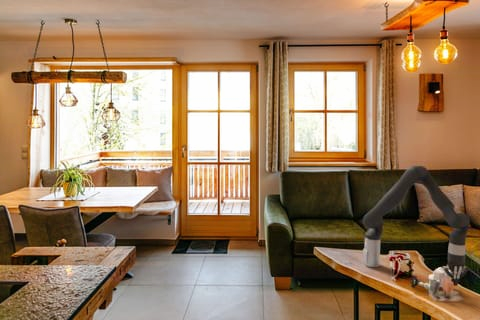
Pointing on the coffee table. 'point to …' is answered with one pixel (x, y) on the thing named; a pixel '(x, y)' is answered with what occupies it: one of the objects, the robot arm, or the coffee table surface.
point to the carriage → (448, 287)
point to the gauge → (442, 293)
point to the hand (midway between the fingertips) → (454, 285)
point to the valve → (420, 283)
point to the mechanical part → (439, 276)
